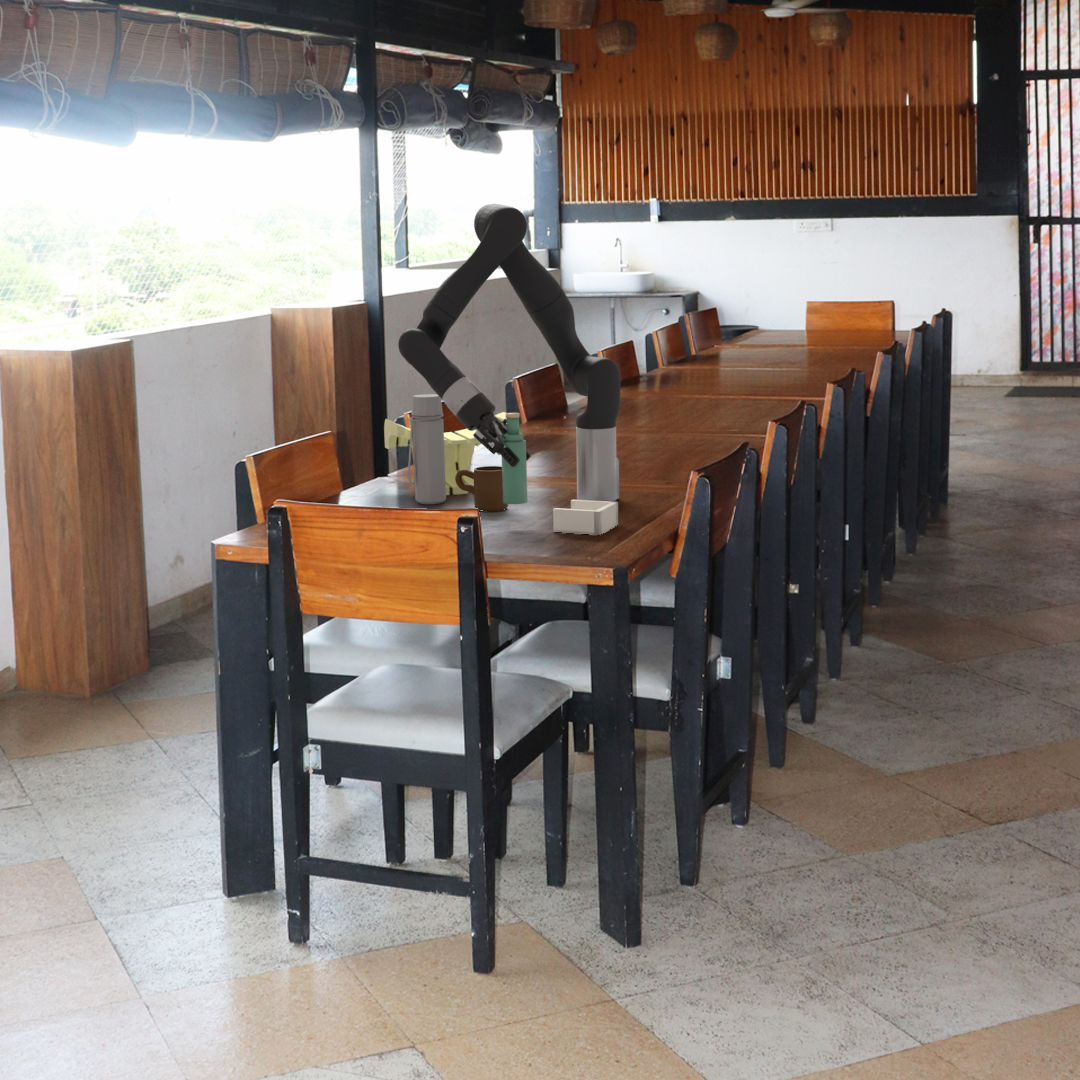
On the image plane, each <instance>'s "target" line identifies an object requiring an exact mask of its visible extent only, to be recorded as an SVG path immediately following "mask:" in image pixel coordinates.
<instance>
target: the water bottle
mask: <svg viewBox="0 0 1080 1080" xmlns="http://www.w3.org/2000/svg"><path fill="white" fill-rule="evenodd" d="M442 403H443V402H442V399H441V398H440V397H439V396H438V394H437V393H431V394H426V393H425V394H424V393H423V394H415V395H412V397H411V417H409V419H408V420H409V424H410V428H411V432H410V446H409V450H408V463H407V464H408V465H407V477H408V482H409V484H410V485H414V492H415V493H414V495H415V496H414V498H415V501H416V502H417V503H418V504H420V505H438V504H442V503H444V502H445V501H446V500H447V495H446V484H445V455H444V433H445V432H444V429H445V428H444V419H443V417H444V415H445V414H444V413H443V412H444V411H443V405H442ZM411 444H412V446H413V447H411ZM411 457H412V458H413V459H412V458H411ZM411 459H412V461H413V476H414V478H413V480H412V481H411Z"/></svg>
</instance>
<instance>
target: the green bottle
mask: <svg viewBox="0 0 1080 1080" xmlns="http://www.w3.org/2000/svg"><path fill="white" fill-rule="evenodd" d="M505 413H506V418H507V433H505V434H504V442H505V443H506V445H507V446H508V447H509V448H510V449H511V450H512V451H513V452H514V454H515V455H516V456H517V457H518V458H519V459H520V461H519V463H518V464H517V465H516V466H514V467H512V466H511V465H510V464H509V463H508V462H507V461H506V460H505V459H504V458H503V457H502V456H501V467H502V484H503V503H505V504H508V505H523V504H526V503H528V500H529V499H528V469H527V465H528V464H527V463H528V462H527V461H526V450H527V441H526V439H524V434H523V433H522V432H520V417H521V414H520V412H505ZM508 447H507V448H508Z"/></svg>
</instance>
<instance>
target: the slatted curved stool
mask: <svg viewBox="0 0 1080 1080" xmlns="http://www.w3.org/2000/svg"><path fill="white" fill-rule="evenodd" d="M506 413H507V412H505V411H503V412H499V413H497V414H495V415H494V416H495V417H496V418H498V419H499V420H500V421H503V420H504V419H507V418H506ZM383 430H384V431H383V432H384V433H383V434H384V448H385V449H387V450H391V449H395V448H397V446H398V447H399V448H401V447H408V446H409V447H410V432H411V427H406V426H404V425H402V424H399V423H396V422H394V421H392V420H390V419H388V418H385V420H384V425H383ZM476 431H477V429H475V430H473V431H470V430H468V429H467V428H465V429H460V430H454V432H452V431H449V432H444V455H445V484H446V496H450V495H464V494H465V495H467V494H471V493H470V492H468V491H464V490H462V489H460V488H459V487H458V486H457V484H456V480H455V477H456V474H457V472H458V471H460V470H462V469H468V470H470V471H471V467H470V464H471V460H472V458H473V455H474V453H475V446H476V447H479V446H480V445H482V444H481V443H480V442H479V441H478V440H477V439H476V438H475V437H474V436H473V434H474V433H475V432H476ZM484 439H485V438H484ZM411 448H413V446H412V444H411ZM462 480H463V482H464V483H465V484H471V485H473V486H474V479H472V478H469V477H467V476H462Z"/></svg>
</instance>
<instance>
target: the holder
mask: <svg viewBox="0 0 1080 1080" xmlns="http://www.w3.org/2000/svg"><path fill="white" fill-rule="evenodd" d="M552 512H553V513H552V515H553V516H552V518H553V519H552V522H553V523H552V525H553V531H552V532H553V533H554V532H562V533H561V534H566V533H574V534H573V535H581V534H589V535H588V536H597V535H600V536H602V535H603V533H604V534H605V533H607V532H609V531H611V530H612V529H614V528H616V527H618V526H619V502H618V501H613V502H609V501H591V500H577V499H570V508H560V507H554V508H553V509H552ZM617 525H618V526H617ZM615 526H616V527H615ZM610 529H611V530H610ZM601 534H602V535H601Z"/></svg>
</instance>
